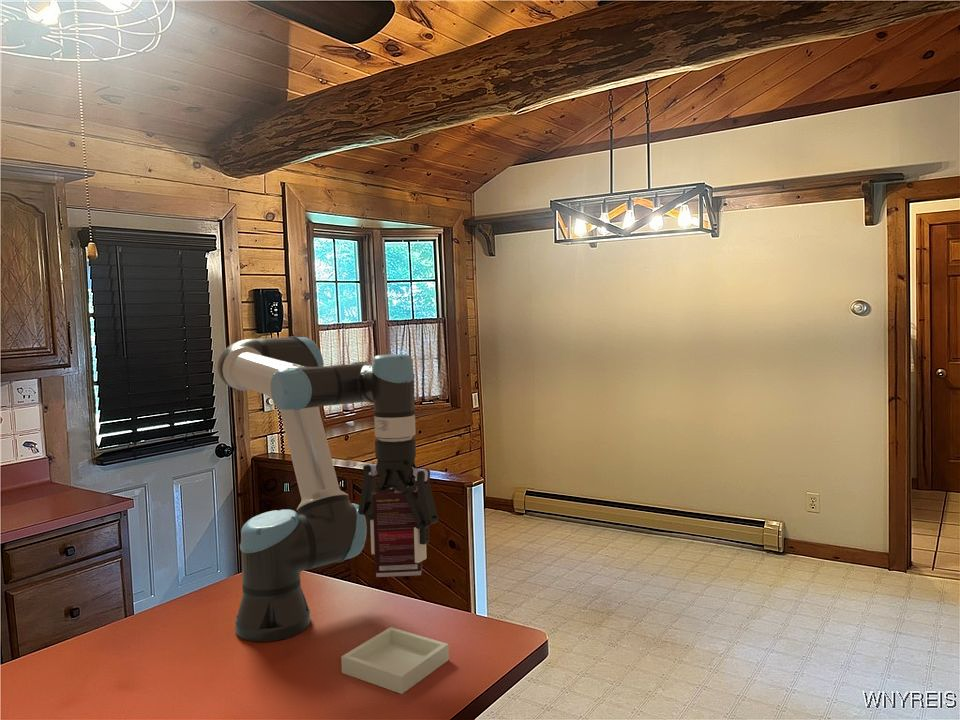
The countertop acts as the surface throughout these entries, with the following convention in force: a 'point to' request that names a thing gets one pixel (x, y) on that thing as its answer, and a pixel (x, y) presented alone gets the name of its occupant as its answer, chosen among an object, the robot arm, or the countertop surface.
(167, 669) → the countertop surface
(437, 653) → the tray
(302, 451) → the robot arm
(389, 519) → the supplement box
